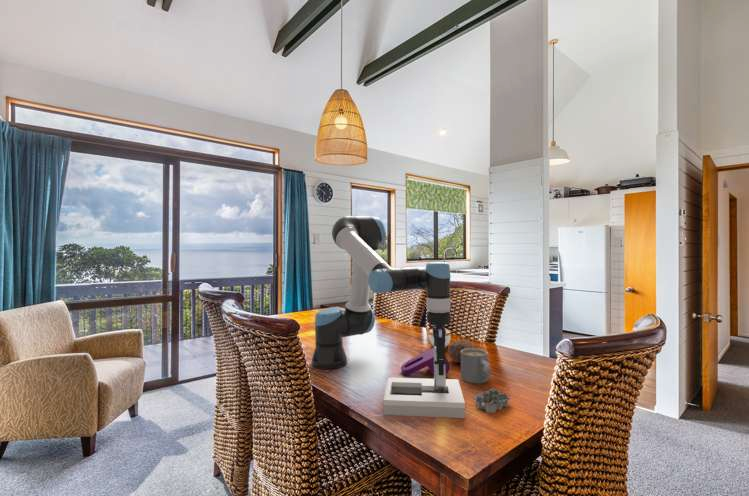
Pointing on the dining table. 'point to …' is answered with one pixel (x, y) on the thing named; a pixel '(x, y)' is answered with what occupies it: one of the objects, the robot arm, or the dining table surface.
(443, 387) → the headed peg
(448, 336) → the lidded jar
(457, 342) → the decorative rock
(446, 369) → the mounting bracket
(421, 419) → the dining table surface
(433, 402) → the keyhole plate
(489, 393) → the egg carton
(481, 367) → the coffee mug
